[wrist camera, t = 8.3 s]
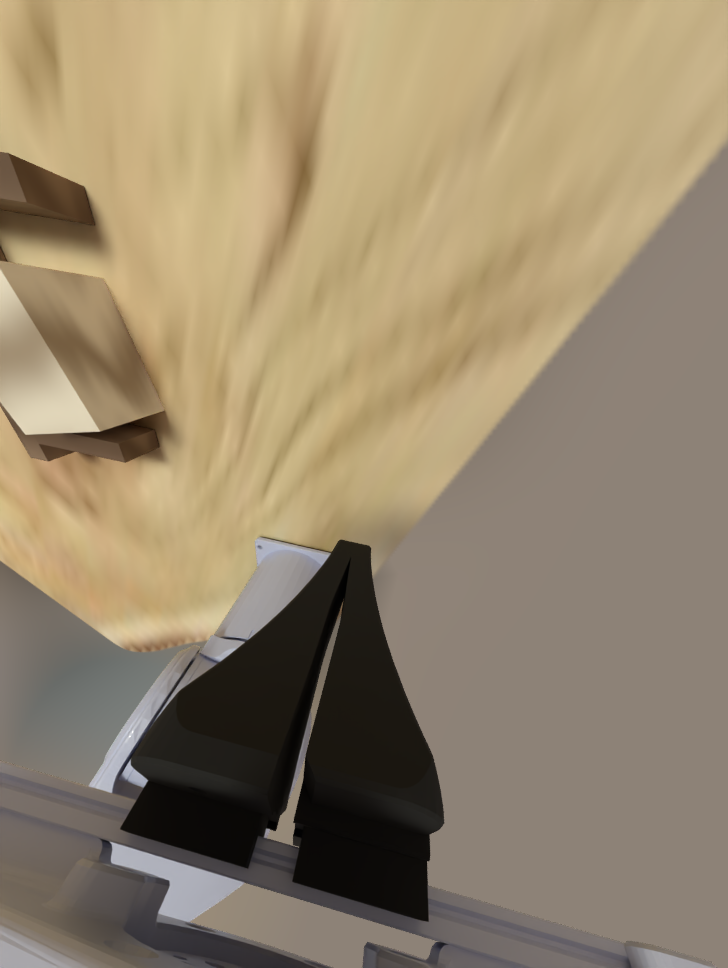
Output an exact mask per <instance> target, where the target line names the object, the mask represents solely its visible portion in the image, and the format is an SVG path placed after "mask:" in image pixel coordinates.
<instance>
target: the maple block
mask: <svg viewBox="0 0 728 968" xmlns="http://www.w3.org/2000/svg"><path fill="white" fill-rule="evenodd" d="M0 402H1V404H2V405H3V406H4V408H5V409H6V410H7V412H8V413H9V414H10V415H11V417H12V418H13V419H14V421H15V422H16V423H17V425H18V426H19V427H20V428H21V430H22V431H23V432H24V434H25V435H31V434H54V433H77V432H100V431H103V430H106V429H109V428H113V427H116V426H119V425H122V424H125V423H128V422H131V421H134V420H137V419H140V418H143V417H146V416H149V415H153V414H156V413H159V412H162V411H165V409H164V407H163V405H162V403H161V401H160V399H159V396H158V394H157V392H156V390H155V388H154V386H153V384H152V381H151V379H150V377H149V375H148V373H147V371H146V369H145V366H144V364H143V362H142V360H141V358H140V356H139V354H138V351H137V349H136V347H135V345H134V343H133V341H132V339H131V337H130V334H129V332H128V330H127V328H126V326H125V324H124V322H123V319H122V317H121V315H120V313H119V311H118V309H117V307H116V304H115V302H114V300H113V298H112V296H111V294H110V292H109V289H108V287H107V285H106V283H105V281H104V279H103V278H99V277H93V276H87V275H81V274H75V273H69V272H64V271H58V270H52V269H46V268H40V267H34V266H28V265H22V264H16V263H10V262H5V261H0Z"/></svg>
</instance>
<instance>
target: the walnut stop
mask: <svg viewBox="0 0 728 968" xmlns="http://www.w3.org/2000/svg"><path fill="white" fill-rule="evenodd" d="M0 210H6V211H12V212H18V213H24V214H30V215H36V216H42V217H49V218H55V219H61V220H67V221H73V222H79V223H85V224H91V225H95V224H94V221H93V217H92V214H91V210H90V207H89V203H88V200H87V196H86V193H85V190H84V186H82V185H79V184H77V183H75V182H73V181H70V180H68V179H66V178H63V177H61V176H59V175H57V174H54V173H52V172H50V171H48V170H45V169H43V168H41V167H38V166H36V165H34V164H32V163H29V162H27V161H25V160H23V159H20V158H18V157H16V156H13V155H11V154H9V153H3V152H0ZM0 261H5V262H6V259H5V257H4V255H3V253H2V250H1V248H0ZM0 406H1V408H2V410H3V411H4V413H5V415H6V416H7V418H8V420H9V422H10V423H11V425H12V427H13V428H14V430H15V432H16V433H17V435H18V437H19V439H20V440H21V442H22V444H23V445H24V447H25V449H26V450H27V452H28V454H29V456H30V457H31V458H35V459H40V460H44V461H51V460H54V459H56V458H59V457H62V456H65V455H67V454H70V453H73V452H79V453H84V454H88V455H93V456H97V457H102V458H107V459H111V460H116V461H120V462H125V463H126V462H128V461H130V460H132V459H134V458H136V457H139V456H141V455H143V454H145V453H147V452H149V451H152V450H154V449H156V448H158V447H159V444H158V441H157V437H156V434H155V430H153V429H148V428H144V427H139V426H134V425H129V424H122V425H119V426H116V427H113V428H109V429H106V430H103V431H100V432H77V433H54V434H31V435H25V434H24V432H23V431H22V430H21V428H20V427H19V426H18V425H17V423H16V422H15V421H14V419H13V418H12V417H11V415H10V414H9V413H8V412H7V410H6V409H5V408H4V406H3V405H2V404H1V402H0Z"/></svg>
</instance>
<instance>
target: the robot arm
mask: <svg viewBox="0 0 728 968" xmlns="http://www.w3.org/2000/svg"><path fill="white" fill-rule="evenodd" d="M255 548H256V557H257V569H256V570H255V572H254V574H253V575H252V577H251V578H250V580H249V581H248V583H247V584H246V586H245V587H244V589H243V591H242V592H241V594H240V595H239V597H238V598H237V600H236V601H235V603H234V604H233V606H232V608H231V609H230V611H229V612H228V614H227V615H226V617H225V618H224V620H223V621H222V623H221V625H220V626H219V628H218V629H217V631H216V632H215V634H214V635H211V637H210V638H209V640H208V641H207V643H206V644H205V646H204V647H203V649H202V650H201V652H200V653H198V652H199V650H200V647H199V646H196V645H192V646H190V647H189V648H187V649H184V650H182V651H180V652H178V653H177V654H176V656H175V657H174V658H173V659H172V660H171V661H170V663H169V664H168V665H167V667H166V668H165V669H164V670H163V672H162V673H161V675H160V676H159V677H158V679H157V680H156V681H155V682H154V684H153V685H152V687H151V688H150V689H149V691H148V692H147V693H146V695H145V696H144V698H143V699H142V701H141V702H140V704H139V705H138V706H137V708H136V709H135V711H134V712H133V713H132V715H131V716H130V718H129V719H128V721H127V723H126V724H125V725H124V727H123V728H122V730H121V731H120V733H119V734H118V736H117V738H116V739H115V741H114V743H113V744H112V746H111V747H110V749H109V751H108V753H107V754H106V756H105V761H104V763H103V764H102V766H101V767H100V769H99V771H98V772H97V774H96V775H95V777H94V778H93V780H92V781H91V783H90V784H89V786H86V785H83V784H79V783H75V782H72V781H69V780H65V779H62V778H59V777H55V776H52V775H48V774H44V773H42V772H38V771H35V770H31V769H28V768H24V767H20V766H17V765H14V764H11V763H7V762H3V761H0V968H332V967H329V966H327V965H324V964H321V963H318V962H316V961H312V960H310V959H307V958H304V957H301V956H298V955H296V954H293V953H290V952H287V951H284V950H281V949H278V948H275V947H272V946H269V945H266V944H262V943H259V942H256V941H253V940H250V939H246V938H243V937H239V936H236V935H233V934H229V933H226V932H223V931H218V930H215V929H212V928H208V927H204V926H201V925H197V924H194V923H190V921H191V920H193V919H194V918H196V917H197V916H199V915H200V914H202V913H203V912H205V911H206V910H208V909H209V908H211V907H212V906H214V905H215V904H217V903H218V902H220V901H221V900H223V899H224V898H225V897H227V896H228V895H229V894H231V893H232V892H234V891H235V890H236V889H238V888H239V887H241V886H242V885H243V884H244V883H248V884H251V885H254V886H258V887H261V888H264V889H267V890H271V891H274V892H277V893H281V894H284V895H287V896H291V897H294V898H297V899H300V900H304V901H307V902H310V903H314V904H317V905H320V906H323V907H327V908H330V909H333V910H337V911H340V912H343V913H346V914H350V915H353V916H356V917H360V918H363V919H366V920H370V921H373V922H376V923H379V924H383V925H386V926H390V927H393V928H396V929H399V930H403V931H406V932H409V933H412V934H416V935H419V936H422V937H425V938H429V939H432V940H435V941H439V942H436V943H435V944H434V945H433V946H432V949H431V952H430V955H429V958H428V959H427V960H424V959H422V958H419V957H417V956H414V955H411V954H408V953H405V952H401V951H398V950H395V949H391V948H388V947H384V946H380V945H377V944H373V943H369V942H367V943H366V945H365V946H364V956H363V968H717V967H716V966H715V965H714V964H713V963H712V962H710V961H706V960H703V959H700V958H697V957H693V956H690V955H686V954H683V953H679V952H676V951H673V950H669V949H666V948H662V947H658V946H654V945H650V944H646V943H639V942H633V941H626V943H623V942H620V941H616V940H613V939H609V938H606V937H603V936H599V935H596V934H592V933H589V932H586V931H582V930H578V929H575V928H572V927H568V926H565V925H562V924H558V923H555V922H551V921H548V920H544V919H541V918H537V917H534V916H531V915H527V914H524V913H521V912H517V911H514V910H510V909H507V908H503V907H500V906H496V905H493V904H490V903H486V902H483V901H479V900H476V899H473V898H469V897H466V896H462V895H459V894H456V893H452V892H449V891H445V890H442V889H438V888H435V887H432V886H428V881H427V880H428V879H427V861H429V860H430V838H429V834H431V833H434V832H436V831H438V830H439V829H440V828H441V827H442V826H443V824H444V811H443V804H442V797H441V790H440V785H439V780H438V775H437V771H436V767H435V763H434V759H433V755H432V753H431V751H430V748H429V746H428V744H427V742H426V740H425V738H424V736H423V733H422V731H421V729H420V727H419V724H418V722H417V720H416V718H415V715H414V713H413V711H412V708H411V706H410V703H409V701H408V699H407V696H406V694H405V691H404V689H403V686H402V683H401V681H400V678H399V676H398V673H397V670H396V667H395V665H394V662H393V659H392V656H391V653H390V650H389V647H388V644H387V640H386V637H385V634H384V630H383V627H382V623H381V619H380V615H379V611H378V606H377V602H376V597H375V591H374V585H373V579H372V570H371V548H370V546H368V545H363V544H358V543H354V542H349V541H345V540H339V541H338V543H337V544H336V546H335V548H334V549H333V551H332V553H328V552H324V551H319V550H315V549H310V548H306V547H302V546H297V545H293V544H288V543H284V542H280V541H275V540H271V539H267V538H262V537H258V538H257V539H256V540H255ZM343 599H344V601H343ZM342 602H343V607H342V614H341V621H340V625H339V629H338V633H337V637H336V641H335V645H334V649H333V653H332V657H331V660H330V664H329V668H328V672H327V676H326V680H325V684H324V688H323V691H322V695H321V699H320V703H319V707H318V710H317V714H316V718H315V722H314V725H313V729H312V733H311V737H310V740H309V736H310V730H311V706H312V702H313V698H314V694H315V690H316V686H317V682H318V678H319V674H320V670H321V666H322V662H323V659H324V656H325V652H326V649H327V646H328V643H329V640H330V638H331V634H332V632H333V629H334V626H335V623H336V620H337V617H338V614H339V611H340V608H341V605H342ZM308 742H309V745H308ZM307 746H308V748H307ZM306 750H307V752H306ZM305 754H306V757H305ZM304 758H305V768H304V779H303V784H302V788H301V792H300V796H299V800H298V804H297V809H296V813H295V817H294V823H295V830H294V834H293V845H295V846H299V848H298V847H295V846H291V845H288V844H284V843H281V842H277V841H274V840H271V839H267V836H268V834H269V832H270V830H273V831H276V829H277V825H278V821H279V818H280V815H281V814H282V813H283V812H284V811H285V810H286V808H287V803H288V799H289V798H290V795H291V793H292V791H293V789H294V786H295V784H296V781H297V779H298V776H299V773H300V770H301V767H302V764H303V761H304Z"/></svg>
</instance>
